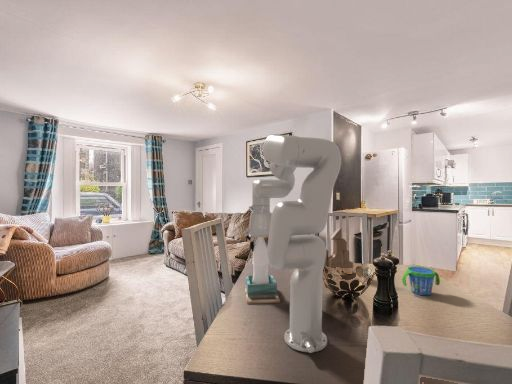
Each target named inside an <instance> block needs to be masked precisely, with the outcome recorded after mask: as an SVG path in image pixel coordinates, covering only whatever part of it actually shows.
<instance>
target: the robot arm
mask: <svg viewBox="0 0 512 384" xmlns="http://www.w3.org/2000/svg"><path fill="white" fill-rule="evenodd" d="M262 156H263V158H264V160H266V161H267V162H268V163H270V165H269V170H270V172H271V174H272V175H273V177H275V178H276V179H271V178H270V179H269V178H268V179H258V180H253V182H252V196H251V197H252V205H251V206H248V210H249V211H251V212H250V215H249V226H248V227H247V228H246V229H245V230H244V231H243V232H242V235H243V236H244V237H245V238H246V239H247V240H248V241H249V249H250V250H251V252H252V251H254V244H255V242H254V239H255V238H256V236H265V237H267V238H268V240H267V246H268V248H267V258H268V262H269V264H268V265H269V266H270V268H272V269H273V270H276V271H288V270H293V272H292V274H291V276H290V280H289V328H288V329H287V330H286V331H285V332H284V333H283V334H284V335H283V336H284V339H283V340H284V342H285V343H286V344H287V346H289V347H290V348H292V349H293V350H295V351H299V352H303V353H309V354H313V353H316V352H319V351H323V349H326V347H327V346H328V338H327V335H326V334H325V333H324V332H323V326H322V325H323V279H324V278H323V277H324V274H323V269H324V263H325V259H326V249H327V247H326V243H325V241H324V240H323V239H322V238H321V237H320V236H317V235H315V234H319V233H321V232H323V231H324V229H325V228H326V225H327V221H328V217H329V214H330V213H329V211H330V206H331V202H332V201H331V200H332V195H333V191H334V187H335V185H336V181H337V179H338V176H339V174H340V170H341V168H342V167H341V166H342V154H341V151H340V148H339V146H338V145H337V144H336V143H335V142H334V141H332V140H329V139H325V138H319V137H304V136H297V135H290V134H289V135H288V134H276V133H275V134H271V135H268V136H267V137H266V139H265V140H264V142H263V146H262ZM297 168H300V169H301V168H302V169H303V168H305V169H306V168H309V169H313V170H312V171H311V172H310V173H309V174H308V175H307V176H306V178H305V179H304V180H303V182H302V184H301V188H300V195H299V198H298V199H297V200H285V201H283V200H282V201H281V202H278V203H277V204H275V206H274V208H273V210H272V212H271V209H270V208H271V199H283V198H286V197H287V196H289V194H290V193H291V192H292V190H293V189H294V187H295V181H296V179H295V173H294V172H295V170H296V169H297ZM248 233H249V234H248Z"/></svg>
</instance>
